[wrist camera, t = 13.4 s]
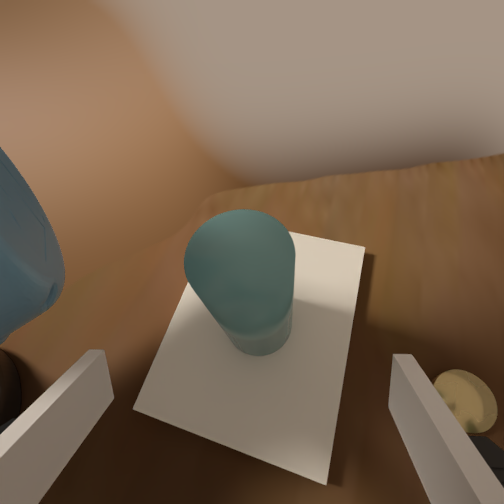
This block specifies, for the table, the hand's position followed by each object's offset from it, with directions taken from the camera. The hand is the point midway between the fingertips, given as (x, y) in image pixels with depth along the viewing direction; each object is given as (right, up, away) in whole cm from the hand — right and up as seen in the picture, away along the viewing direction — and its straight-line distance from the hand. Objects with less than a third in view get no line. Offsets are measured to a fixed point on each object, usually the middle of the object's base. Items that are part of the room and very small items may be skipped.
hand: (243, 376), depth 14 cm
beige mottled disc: (+17, -6, +10) cm, 21 cm away
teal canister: (+1, -1, +14) cm, 14 cm away
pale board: (+1, -1, +15) cm, 15 cm away
